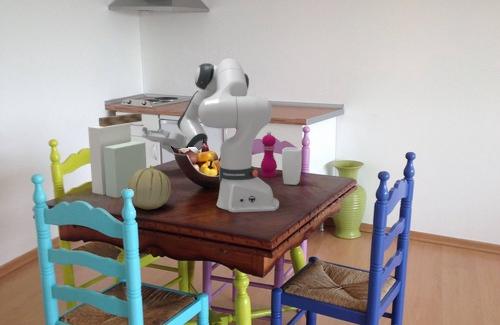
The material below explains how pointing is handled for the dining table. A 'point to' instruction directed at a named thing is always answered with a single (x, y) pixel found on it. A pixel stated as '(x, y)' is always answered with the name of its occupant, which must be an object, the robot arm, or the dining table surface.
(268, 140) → the pepper mill
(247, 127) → the robot arm
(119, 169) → the pale green block
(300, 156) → the cup
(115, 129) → the tall stand
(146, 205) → the cantaloupe
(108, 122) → the walnut bar
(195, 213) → the dining table surface
